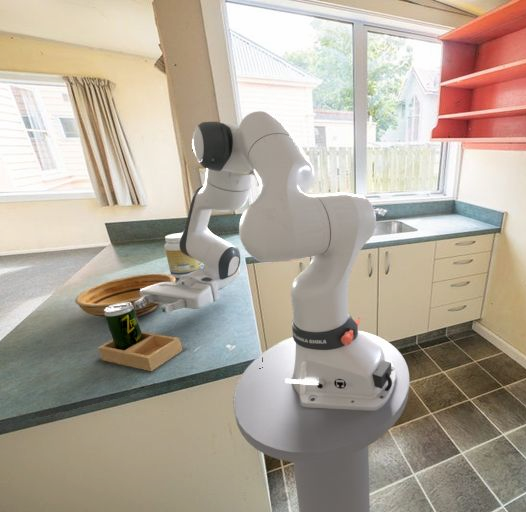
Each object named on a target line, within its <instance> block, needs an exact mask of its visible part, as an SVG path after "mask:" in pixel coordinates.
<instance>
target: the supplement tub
mask: <svg viewBox="0 0 526 512" xmlns="http://www.w3.org/2000/svg"><path fill="white" fill-rule="evenodd" d="M182 234H183V232H177V233H172V234H171V233H170V234H167V235H165V236H164V241H165V244H164V245H163V247H164V248H163V249H164V252H165V256H166V260H167V263H168V268H169V273H170V274H169V275H171V276H173V277H174V278H175V279H180V277H182V276H184V275H186V274H189V273H191V272H193V271H196V270H200V269H203V267H204V264H203V263H201V262H199V261H197V260H196V259H194V258H191V257H189V256H187V255H185V254H183V253H182V252H181V250H180V246H179V241H180V238H181V235H182Z"/></svg>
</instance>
